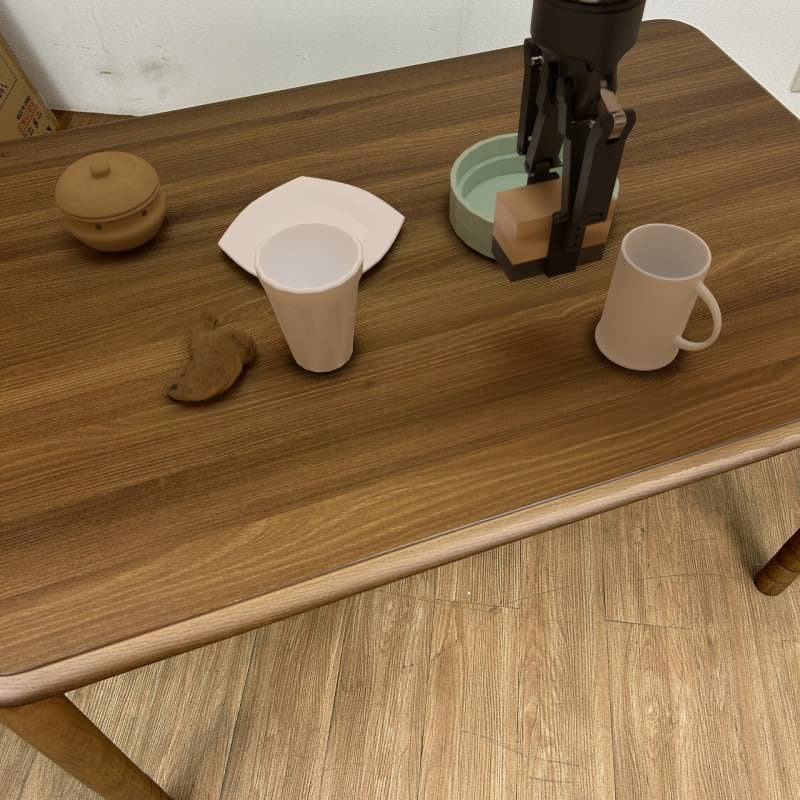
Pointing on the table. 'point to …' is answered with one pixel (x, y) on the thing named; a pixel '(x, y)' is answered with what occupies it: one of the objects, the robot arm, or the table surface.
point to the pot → (111, 200)
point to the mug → (655, 297)
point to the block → (536, 230)
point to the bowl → (487, 187)
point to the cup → (313, 289)
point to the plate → (313, 218)
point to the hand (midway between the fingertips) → (547, 253)
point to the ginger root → (212, 360)
